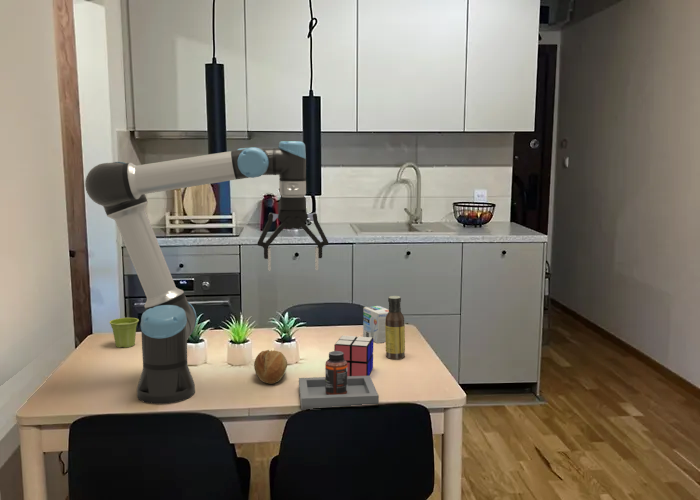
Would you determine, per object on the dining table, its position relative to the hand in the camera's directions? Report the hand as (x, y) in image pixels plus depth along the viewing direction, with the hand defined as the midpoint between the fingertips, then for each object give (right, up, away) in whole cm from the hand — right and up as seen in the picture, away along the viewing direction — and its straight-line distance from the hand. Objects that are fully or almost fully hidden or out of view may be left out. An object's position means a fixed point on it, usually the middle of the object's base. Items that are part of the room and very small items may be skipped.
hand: (293, 269), depth 194 cm
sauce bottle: (+31, -29, +23) cm, 48 cm away
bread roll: (-7, -32, +3) cm, 33 cm away
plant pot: (-60, -27, +35) cm, 74 cm away
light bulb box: (+26, -26, +45) cm, 58 cm away
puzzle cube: (+18, -31, +8) cm, 37 cm away
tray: (+13, -34, -13) cm, 39 cm away
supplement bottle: (+13, -33, -13) cm, 38 cm away
